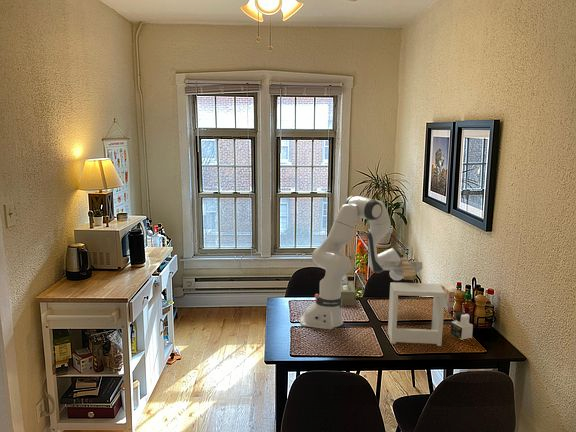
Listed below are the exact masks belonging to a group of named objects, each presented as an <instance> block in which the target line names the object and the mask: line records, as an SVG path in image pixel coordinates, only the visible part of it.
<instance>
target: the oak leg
mask: <svg viewBox="0 0 576 432" xmlns="http://www.w3.org/2000/svg"><path fill="white" fill-rule="evenodd" d="M401 261H402V264H401V266H402V271H403V274H402V275H403V280H404V281H405V280H406V281H408V280H409V281H410V280H411V281H414V280H415V278H416V274H415V270H414V267H411V266H410V263H409V262H408V261H409V260H408V258H407V257H403V258H401Z"/></svg>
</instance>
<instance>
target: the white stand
mask: <svg viewBox="0 0 576 432" xmlns="http://www.w3.org/2000/svg"><path fill="white" fill-rule="evenodd" d="M439 284H440V283H426V282H425V283H421V282H420V283H419V282H396V281H393V282H390V284H389V301H388V302H389V303H388V305H389V306H388V323H387V334H388V338H389V340H390V344H391V345H396V344H397V343H411V344H413V343H415V344H434V345H436V346H437V347H442V342H443V341H442V340H443V330H444V329H443V328H444V316H445V315H444V313H445V309H444V303H445V292H444V291H443V289H442V288H441V286H440V285H439ZM399 296H407V297H408V296H409V297H430V298H431V297H433V298H432V299H433V300H432V301H433V302H432V315H431V329H426V328H424V329H423V328H422V329H421V328H405V327H404V328H402V327H400V328H399V327H398V326H397V324H398V323H397V322H398V304H399ZM397 327H398V328H397Z"/></svg>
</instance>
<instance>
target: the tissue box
mask: <svg viewBox="0 0 576 432" xmlns="http://www.w3.org/2000/svg"><path fill="white" fill-rule="evenodd" d="M341 297H342V306H356V304H357V292H356V287H355V285H354V282H353V281H349V280H348V276H347V273H346V274H345V275H344V277H343V279H342V284H341Z"/></svg>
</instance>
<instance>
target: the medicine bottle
mask: <svg viewBox="0 0 576 432" xmlns="http://www.w3.org/2000/svg"><path fill="white" fill-rule="evenodd" d="M473 326H474V325H473V324H472V323H470V314H469V313H467V312H463V311H460V312H456V314H455V320H454V321H453V320H452V321H451V324H450V336H451V335H452V336H451V337H453V336H454V337H453V338H455V337H456V338H455V339H457V338H458V339H460V340H463V339H467V338H471V339H472V338H473V331H474V327H473ZM458 339H457V340H458ZM460 340H459V341H460ZM467 340H468V339H467ZM463 341H464V340H463Z"/></svg>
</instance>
